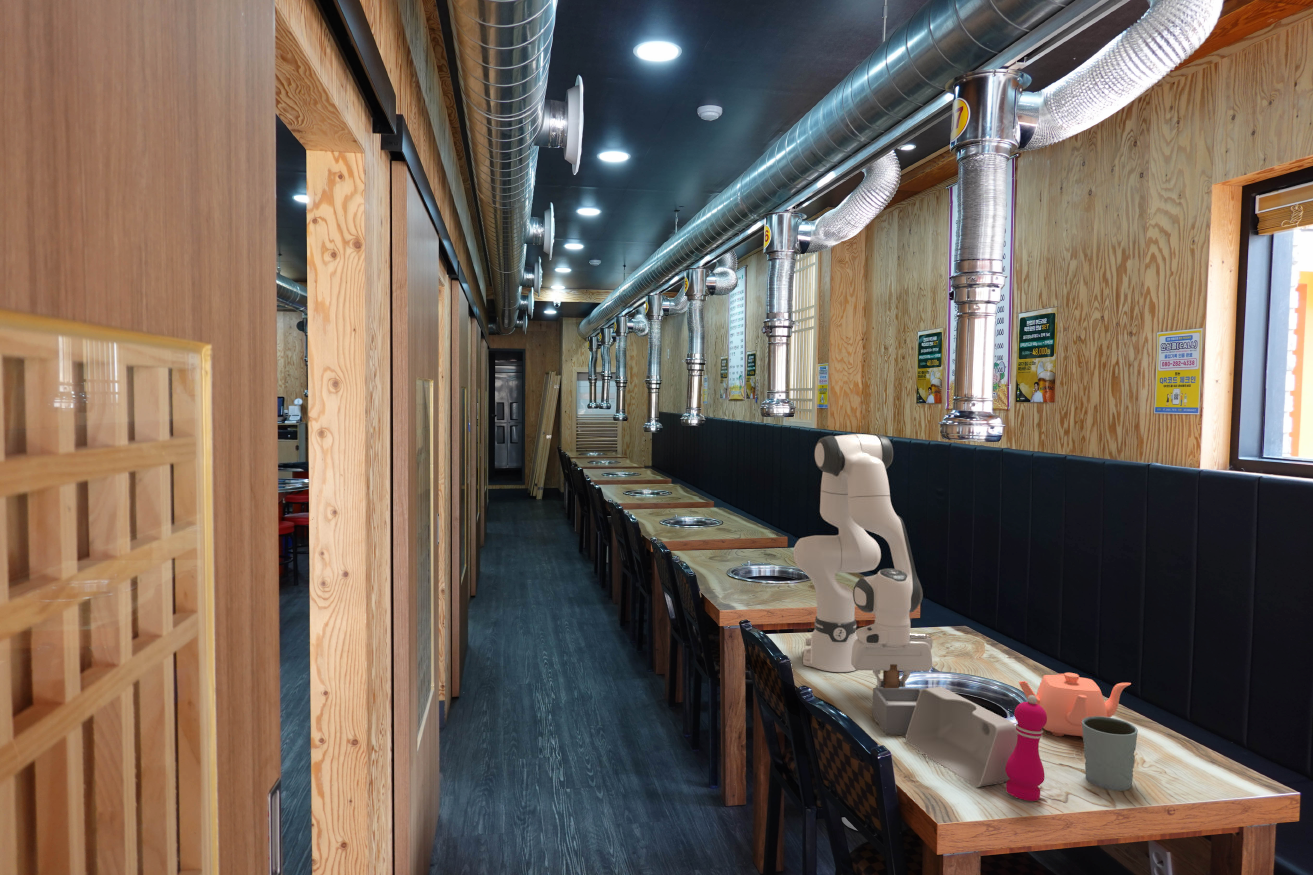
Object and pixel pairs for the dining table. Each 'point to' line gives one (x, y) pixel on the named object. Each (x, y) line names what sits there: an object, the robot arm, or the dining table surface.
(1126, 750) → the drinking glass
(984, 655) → the dining table surface
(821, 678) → the dining table surface
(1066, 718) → the teapot
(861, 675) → the dining table surface
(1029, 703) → the pepper mill
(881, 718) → the box
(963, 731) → the beige storage bin
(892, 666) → the walnut peg
